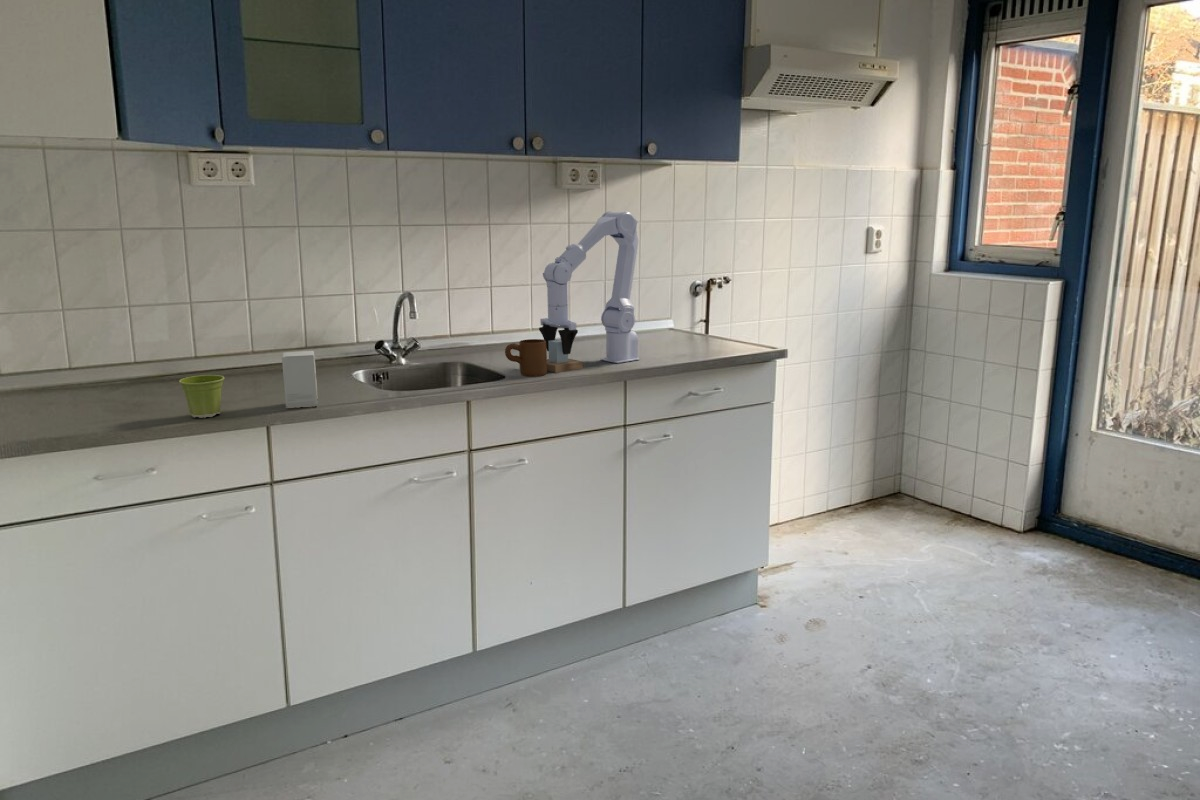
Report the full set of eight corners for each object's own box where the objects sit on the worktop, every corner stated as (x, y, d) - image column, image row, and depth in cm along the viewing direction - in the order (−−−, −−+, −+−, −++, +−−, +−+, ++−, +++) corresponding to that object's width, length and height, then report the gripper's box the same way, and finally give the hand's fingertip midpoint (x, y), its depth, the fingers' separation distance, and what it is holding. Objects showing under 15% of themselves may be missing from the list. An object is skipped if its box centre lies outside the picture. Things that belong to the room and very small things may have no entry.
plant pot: (232, 416, 203) (228, 379, 202) (188, 422, 198) (183, 384, 196) (222, 409, 211) (218, 373, 209) (179, 415, 206) (175, 378, 204)
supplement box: (318, 407, 212) (314, 354, 209) (285, 409, 210) (280, 356, 207) (318, 401, 219) (314, 350, 216) (286, 403, 217) (282, 351, 214)
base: (562, 363, 266) (562, 357, 266) (583, 368, 258) (583, 361, 258) (534, 368, 260) (534, 361, 259) (555, 372, 252) (555, 365, 252)
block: (560, 359, 261) (559, 339, 260) (568, 361, 258) (567, 341, 257) (548, 361, 259) (548, 340, 258) (557, 363, 256) (556, 342, 255)
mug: (510, 379, 244) (509, 345, 242) (501, 374, 250) (500, 341, 248) (551, 375, 249) (550, 341, 247) (540, 370, 255) (540, 338, 253)
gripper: (531, 304, 258) (532, 351, 261) (562, 308, 247) (562, 357, 250) (551, 302, 262) (552, 348, 265) (581, 306, 252) (582, 354, 255)
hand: (558, 352), depth 258 cm, fingers open, 7 cm apart
